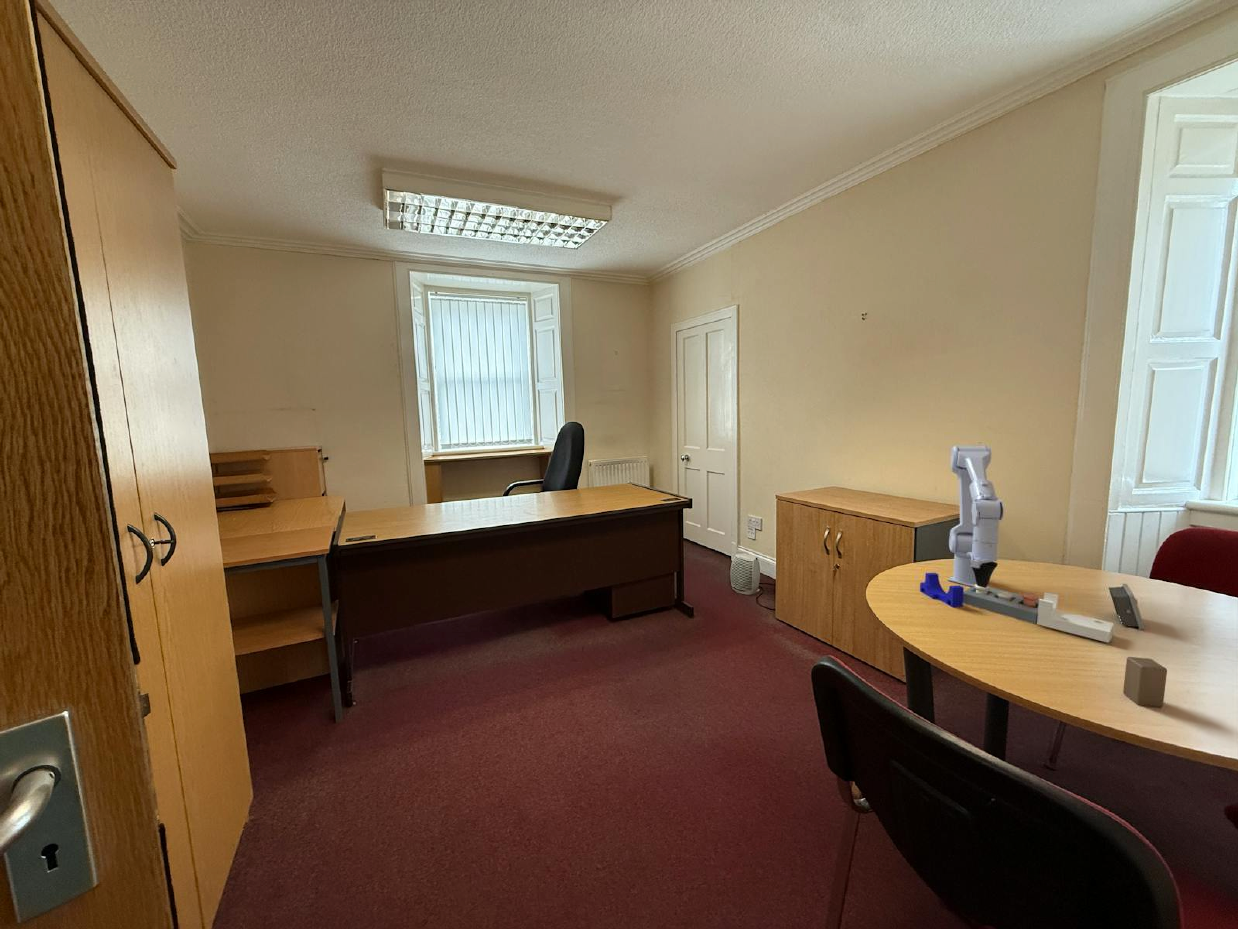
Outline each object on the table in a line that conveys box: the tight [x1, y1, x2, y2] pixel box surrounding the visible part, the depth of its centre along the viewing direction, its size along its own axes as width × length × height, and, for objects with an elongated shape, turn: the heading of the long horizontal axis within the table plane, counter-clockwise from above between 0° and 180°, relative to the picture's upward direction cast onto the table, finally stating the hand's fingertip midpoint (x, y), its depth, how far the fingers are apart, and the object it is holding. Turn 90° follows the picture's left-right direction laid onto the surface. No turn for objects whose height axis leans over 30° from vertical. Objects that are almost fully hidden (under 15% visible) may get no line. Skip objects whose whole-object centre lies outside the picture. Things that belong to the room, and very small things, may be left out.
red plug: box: [1021, 592, 1039, 608], centre depth 129 cm, size 3×3×4 cm
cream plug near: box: [975, 584, 990, 595], centre depth 139 cm, size 3×3×4 cm
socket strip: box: [963, 586, 1040, 625], centre depth 134 cm, size 11×17×3 cm, turn 33°
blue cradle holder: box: [919, 572, 965, 608], centre depth 141 cm, size 12×4×6 cm, turn 1°
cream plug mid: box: [997, 591, 1013, 601], centre depth 134 cm, size 3×3×4 cm
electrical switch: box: [1108, 583, 1145, 630], centre depth 124 cm, size 9×5×9 cm, turn 141°
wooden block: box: [1122, 656, 1168, 708], centre depth 92 cm, size 4×4×8 cm
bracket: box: [1036, 592, 1115, 644], centre depth 120 cm, size 13×7×8 cm, turn 39°
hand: (982, 586), depth 138 cm, fingers closed, pressing on cream plug near
